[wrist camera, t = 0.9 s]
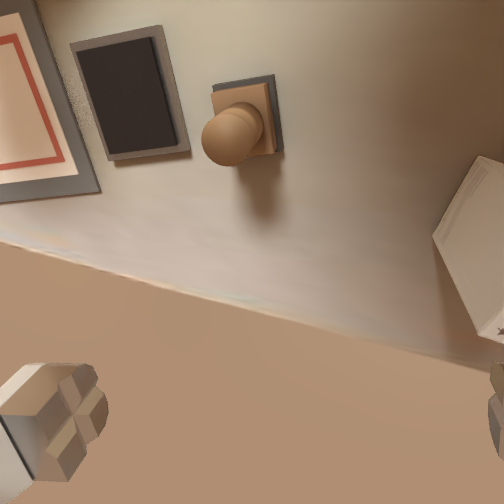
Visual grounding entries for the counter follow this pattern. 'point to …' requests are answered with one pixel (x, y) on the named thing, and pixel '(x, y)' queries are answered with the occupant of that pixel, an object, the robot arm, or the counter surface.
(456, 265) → the skincare box
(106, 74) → the ink pad
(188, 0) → the counter surface
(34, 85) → the mat
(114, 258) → the counter surface
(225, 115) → the stamp
